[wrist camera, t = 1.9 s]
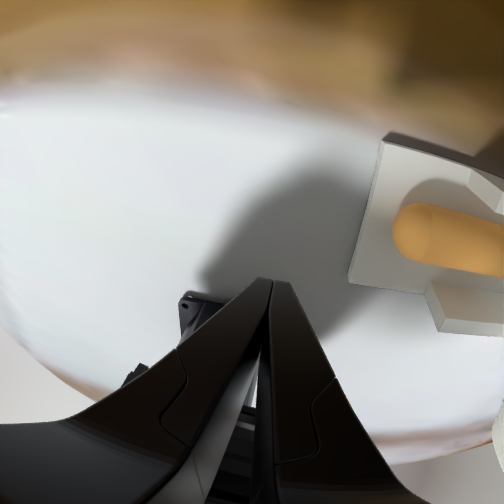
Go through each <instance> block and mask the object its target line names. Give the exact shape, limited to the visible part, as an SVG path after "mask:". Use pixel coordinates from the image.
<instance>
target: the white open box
mask: <svg viewBox="0 0 504 504" xmlns="http://www.w3.org/2000/svg"><path fill="white" fill-rule="evenodd" d="M413 203H426V204H430V205H433V206H437V207H441V208H445V209H449V210H452V211H456V212H460V213H463V214H467V215H470V216H474V217H477V218H480V219H484V220H487V221H490V222H494V223H497V224H500V225H503V226H504V179H502V178H500V177H497V176H495V175H492V174H490V173H487V172H485V171H482V170H479V169H476V168H474V167H471V166H468V165H465V164H462V163H459V162H456V161H453V160H450V159H447V158H444V157H441V156H438V155H435V154H431V153H428V152H425V151H421V150H418V149H414V148H410V147H407V146H403V145H399V144H395V143H391V142H387V141H383V140H381V145H380V149H379V154H378V159H377V164H376V168H375V173H374V177H373V181H372V186H371V190H370V194H369V198H368V202H367V206H366V210H365V214H364V218H363V221H362V225H361V229H360V233H359V236H358V240H357V243H356V247H355V250H354V254H353V257H352V260H351V264H350V267H349V270H348V274H347V278H348V283H352V284H358V285H365V286H371V287H377V288H384V289H390V290H397V291H403V292H410V293H416V294H423V295H424V296H425V298H426V301H427V303H428V306H429V309H430V311H431V314H432V317H433V319H434V322H435V325H436V328H437V331H438V332H444V333H455V334H466V335H479V336H494V337H504V279H503V278H498V277H493V276H488V275H483V274H478V273H473V272H468V271H463V270H458V269H453V268H448V267H442V266H437V265H432V264H426V263H421V262H416V261H412V260H409V259H407V258H406V257H404V256H403V255H402V254H401V253H400V252H399V251H398V249H397V248H396V246H395V244H394V242H393V237H392V226H393V222H394V219H395V217H396V216H397V214H398V213H399V212H400V211H401V209H403V208H404V207H406V206H407V205H410V204H413Z"/></svg>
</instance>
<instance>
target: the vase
mask: <svg viewBox="0 0 504 504" xmlns="http://www.w3.org/2000/svg"><path fill="white" fill-rule="evenodd" d="M492 439H493V444H494V449H495V452H496V454H497V457H498V460H499V463H500V465H501V467H502V470H503V472H504V402H503V404H502V406H501V408H500V410H499V413H498V415H497V417H496V420H495V422H494V424H493V427H492Z"/></svg>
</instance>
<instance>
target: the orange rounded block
mask: <svg viewBox="0 0 504 504" xmlns="http://www.w3.org/2000/svg"><path fill="white" fill-rule="evenodd" d="M392 237H393V242H394V244H395V246H396V248H397V249H398V251H399V252H400V253H401V254H402V255H403V256H404V257H406V258H407V259H409V260H412V261H416V262H421V263H426V264H432V265H437V266H442V267H448V268H453V269H458V270H463V271H468V272H473V273H478V274H483V275H488V276H493V277H498V278H503V279H504V226H503V225H500V224H497V223H494V222H490V221H487V220H484V219H480V218H477V217H474V216H470V215H467V214H463V213H460V212H456V211H452V210H449V209H445V208H441V207H437V206H433V205H430V204H426V203H413V204H410V205H407V206H406V207H404V208H403V209H401V211H400V212H399V213H398V214H397V216H396V217H395V219H394V222H393V226H392Z"/></svg>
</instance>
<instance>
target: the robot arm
mask: <svg viewBox="0 0 504 504" xmlns="http://www.w3.org/2000/svg"><path fill="white" fill-rule="evenodd" d="M185 303H186V304H187V305H186V304H185ZM178 307H179V318H180V328H181V340H180V342H179V344H178V346H177V347H176V349H173V350H172V351H171V352H169V353H168V354H167V355H166V356H165V357H163V358H162V359H161V360H160V361H158V362H157V363H156V364H154V365H153V366H152V367H151V368H148V366H146V365H144V364H141V363H139V365H138V366H137V368H136V369H135V371H134V372H132V371H131V373H130V374H128V376H127V378H126V379H125V381H124V383H123V384H122V386H121V387H120V388H119V389H118V390H116V391H115V392H113V393H111V394H110V395H108V396H106V397H105V398H103V399H102V400H100V401H98V402H97V403H95V404H93V405H92V406H90V407H88V408H87V409H85V410H83V411H82V412H80V413H78V414H75V415H74V416H71V417H68V418H65V419H62V420H58V421H52V422H41V423H40V422H39V423H20V424H0V504H431V503H429V502H427V501H425V500H423V499H422V498H420V497H418V496H416V495H415V494H413V493H412V492H411V491H410V490H408V489H407V488H406V487H405V486H404V485H403V484H402V483H401V482H400V481H399V480H398V478H397V477H396V476H395V474H394V473H393V472H392V470H391V469H390V467H389V465H388V464H387V462H386V461H385V459H384V458H383V456H382V455H381V453H380V452H379V450H378V449H377V447H376V446H375V444H374V442H373V441H372V439H371V438H370V436H369V435H368V433H367V432H366V430H365V429H364V427H363V425H362V424H361V422H360V421H359V419H358V417H357V416H356V414H355V412H354V411H353V409H352V407H351V405H350V403H349V401H348V400H347V398H346V396H345V394H344V392H343V390H342V388H341V386H340V383H339V381H338V379H337V378H335V377H336V376H335V373H334V371H333V369H332V367H331V365H330V363H329V361H328V359H327V357H326V355H325V353H324V351H323V349H322V347H321V345H320V343H319V341H318V339H317V337H316V335H315V332H314V330H313V328H312V326H311V324H310V322H309V320H308V318H307V316H306V314H305V312H304V310H303V308H302V306H301V304H300V302H299V300H298V298H297V296H296V294H295V292H294V290H293V288H292V286H291V284H290V283H289V282H284V281H278V280H275V281H274V282H273V281H272V280H271V279H266V278H260V277H258V278H256V279H255V280H254V281H252V282H251V283H250V284H249V285H248V286H247V287H246V288H244V289H243V290H242V291H241V292H240V293H239V294H238V295H236V296H235V297H234V298H233V299H232V300H231V301H229V302H228V303H227V304H226V305H225V304H220V303H215V302H210V301H205V300H200V299H195V298H191V297H182V298H181V299H180V301H179V303H178ZM257 376H258V382H257V398H256V408H254V407H251V405H252V400H253V395H254V391H255V386H256V381H257Z"/></svg>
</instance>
